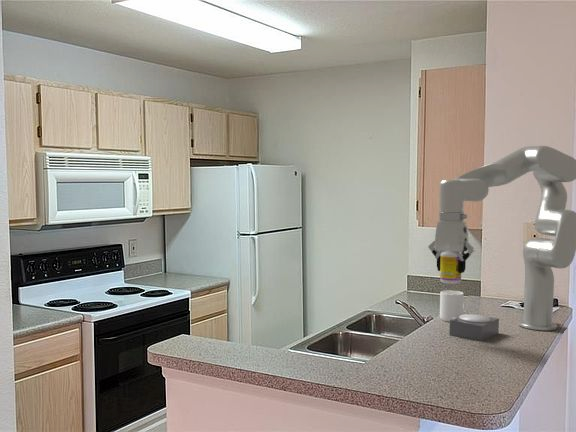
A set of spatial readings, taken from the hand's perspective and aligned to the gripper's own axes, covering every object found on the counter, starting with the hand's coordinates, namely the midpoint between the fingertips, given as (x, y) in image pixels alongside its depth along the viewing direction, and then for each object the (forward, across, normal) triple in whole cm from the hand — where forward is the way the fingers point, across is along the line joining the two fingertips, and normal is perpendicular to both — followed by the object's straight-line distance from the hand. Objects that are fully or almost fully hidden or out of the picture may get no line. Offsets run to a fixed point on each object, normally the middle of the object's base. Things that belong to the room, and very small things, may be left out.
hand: (450, 271), depth 192 cm
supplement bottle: (+4, 0, 0) cm, 4 cm away
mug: (+22, +10, -23) cm, 34 cm away
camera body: (+22, -5, -8) cm, 24 cm away
